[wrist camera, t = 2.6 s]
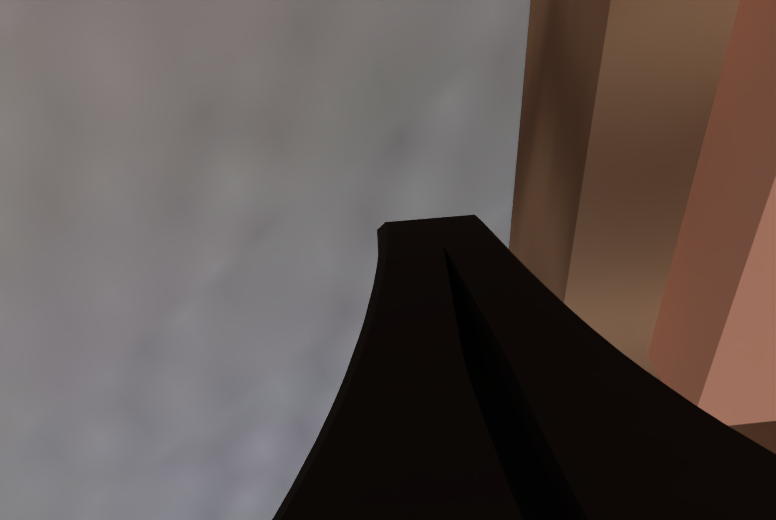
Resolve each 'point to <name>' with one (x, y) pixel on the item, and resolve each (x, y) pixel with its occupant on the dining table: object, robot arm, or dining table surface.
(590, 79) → the deck
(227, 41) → the dining table surface
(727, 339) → the salmon pink panel
